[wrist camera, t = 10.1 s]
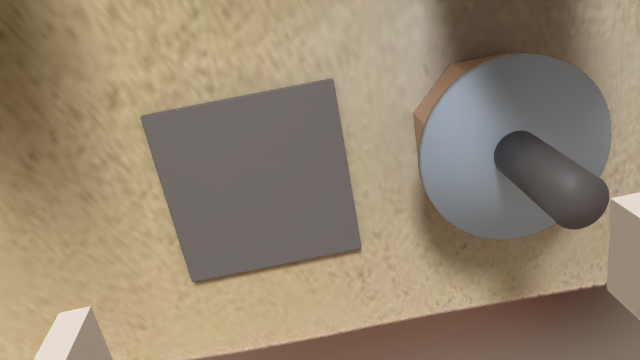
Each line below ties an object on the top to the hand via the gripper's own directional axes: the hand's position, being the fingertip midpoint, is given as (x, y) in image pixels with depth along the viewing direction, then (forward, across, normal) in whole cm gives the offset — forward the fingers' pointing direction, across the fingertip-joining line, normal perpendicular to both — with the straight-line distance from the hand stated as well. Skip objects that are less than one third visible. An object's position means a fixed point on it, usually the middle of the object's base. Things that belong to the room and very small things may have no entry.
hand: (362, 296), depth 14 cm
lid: (+22, +14, -7) cm, 27 cm away
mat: (+28, -4, -8) cm, 29 cm away
